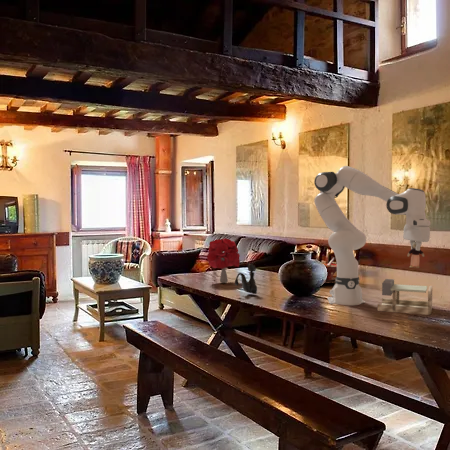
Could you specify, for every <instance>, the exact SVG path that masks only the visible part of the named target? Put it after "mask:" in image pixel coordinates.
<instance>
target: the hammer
mask: <svg viewBox="0 0 450 450" xmlns="http://www.w3.org/2000/svg"><path fill="white" fill-rule="evenodd" d="M381 284H382V285H381V296H393V290H396V291H399V292H408V293H423V294H424V293H427V292H428V285H417V284H416V285H413V284H412V285H411V284H399V283H398V284H395V279H394V278H393V279H392V278H385V279H384V280H383V281H382V282H381Z"/></svg>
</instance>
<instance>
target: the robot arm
mask: <svg viewBox="0 0 450 450" xmlns="http://www.w3.org/2000/svg"><path fill="white" fill-rule="evenodd" d="M313 182H314V186H315V188H316V189H317V190H318V191H319V193H318V194H317V195H316V196H315V197H314V199H313V202H314V205H315V207H316V210H317V212H318V214H319V216H320V217H321V219H322V221H323V222H324V224H325V225H326V227H327V228H328V229H329V230H331V231H332V233H331V234H330V235H329V237H328V240H327V241H328V246H329V248H331V250H332V252H333V253H334V256H335V257H334V258H335V260H336V264H337V271H336V277H335V278H336V282H335V284H334V285H333V287H332V288H331V289H329V295H331V296H328V297H327V301H328V302H329V304H330V305H342V306H358V305H361V304H365V303H366V301H365V300H363V289H362V287H361V286H360V277H359V261H358V260H357V259H356V257H355V255H354V251H356V250H359V249H361V248H363V247H364V246H365V245H366V244H367V243H366V242H367V236H366V234H365V233H364V232H363V230H359V229H358V228H357V227H356V226H355V224H353V223H352V222H351V221H350V220H349V218H348V217H347V216H346V215H345V214H344V212H343V211H342V209H341V207H340V206H339V204H338V203H337V201H336V199H335V198H338V197H339V196H340V194H341V193H342V192H344V190H345V188H346V189H348V190H350V191H351V192H354V193H355V194H358V195H362V196H370V197H375V198H379V199H381V200H383V201H385V202H386V205H385V206H386V210H387V212H389V214H392V215H398V216H402V215H403V216H405V224H404V227H403V232H402V233H403V235H402V238H403V240H405V241H409V243H410V250H411V249H414V248H413V245H412V244H413V242H416V243H417V244H416V247H415V250H417V251H420V250H421V247H422V243H428V242H429V241H430V240H431V239H430V236H431V228H430V226H431V225H432V223H431V220H429V219H428V218H427V216H426V208H427V203H426V201H427V200H426V192H425V191H424V190H423V189H419V188H413V187H410V188H407V189H406V190H405V191H403V192H401V193H398V192H397V191H393V190H392V189H389V188H388V187H386V186H384V185H382V184H381V183H380V182H379V181H377V180H375V179H373V178H372V177H371V176H370V175H367V174H366V173H365V172H363V171H362V170H360V169H357V168H355V167H352V166H348V165H344V166H341V167H340V168H339V169H338V171H337V172H334V171H323V172H319V173H318V174H316V176H315V177H314V181H313Z"/></svg>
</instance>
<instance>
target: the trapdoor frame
mask: <svg viewBox="0 0 450 450" xmlns="http://www.w3.org/2000/svg"><path fill="white" fill-rule="evenodd" d="M378 311H379V312H387V313H402V314H414V315H423V316H425V315H426V316H427V315H428V316H431V314H432V311H433V285H429V286H428V289H427V300H425V301H423V300H410V299H400V291H396V290H393V293H392V298H381V304H377V312H378Z"/></svg>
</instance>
